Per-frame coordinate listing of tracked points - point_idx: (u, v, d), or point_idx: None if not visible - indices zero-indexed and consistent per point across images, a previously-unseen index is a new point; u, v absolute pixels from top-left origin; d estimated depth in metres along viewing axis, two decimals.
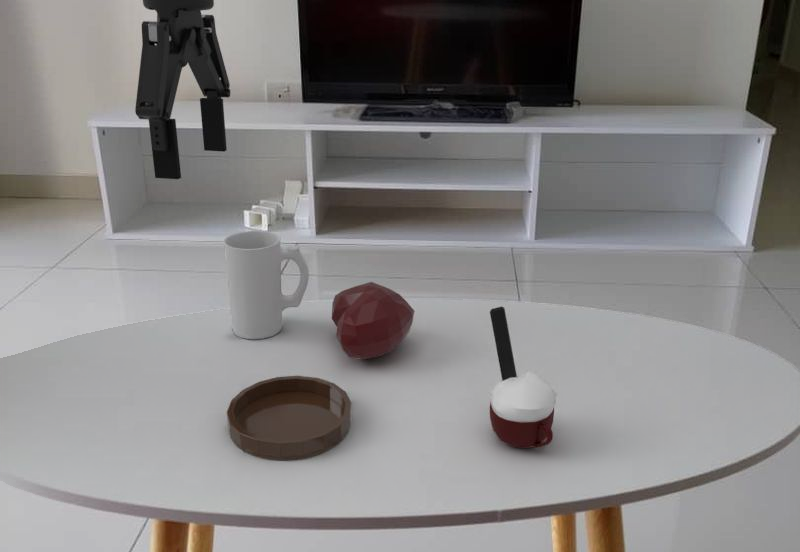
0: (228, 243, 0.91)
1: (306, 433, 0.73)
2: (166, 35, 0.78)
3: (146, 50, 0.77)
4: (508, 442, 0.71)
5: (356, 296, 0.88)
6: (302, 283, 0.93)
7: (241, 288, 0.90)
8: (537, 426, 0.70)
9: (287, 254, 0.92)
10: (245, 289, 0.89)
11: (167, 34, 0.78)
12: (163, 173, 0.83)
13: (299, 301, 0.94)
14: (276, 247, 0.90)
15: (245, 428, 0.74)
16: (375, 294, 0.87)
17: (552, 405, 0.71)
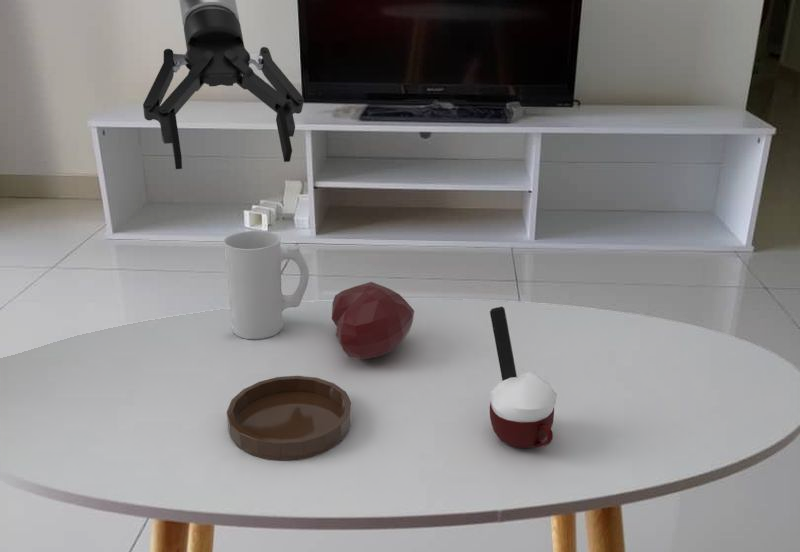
0: (228, 243, 0.91)
1: (306, 433, 0.73)
2: (168, 57, 0.96)
3: None
4: (508, 442, 0.71)
5: (356, 296, 0.88)
6: (302, 283, 0.93)
7: (241, 288, 0.90)
8: (537, 426, 0.70)
9: (287, 254, 0.92)
10: (245, 289, 0.89)
11: (170, 56, 0.96)
12: None
13: (299, 301, 0.94)
14: (276, 247, 0.90)
15: (245, 428, 0.74)
16: (375, 294, 0.87)
17: (552, 405, 0.71)
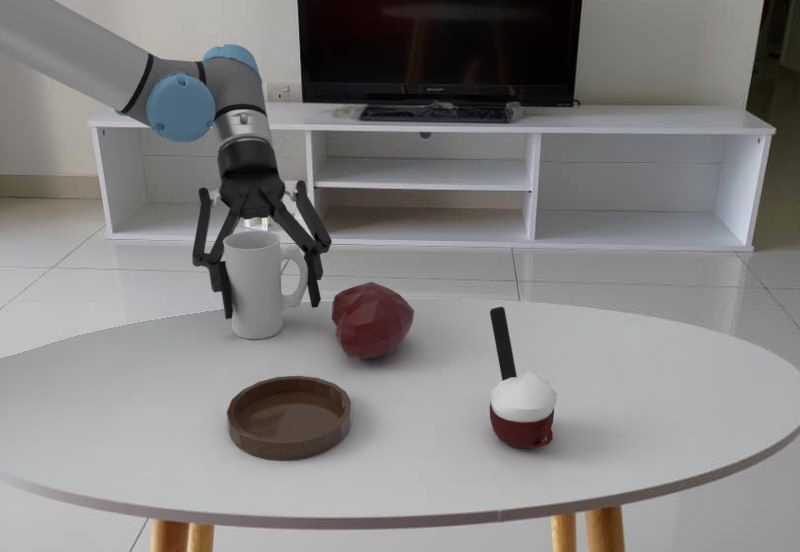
0: (228, 243, 0.91)
1: (306, 433, 0.73)
2: (204, 196, 0.94)
3: None
4: (508, 442, 0.71)
5: (356, 296, 0.88)
6: (301, 283, 0.93)
7: (241, 288, 0.90)
8: (537, 426, 0.70)
9: (287, 254, 0.92)
10: (244, 289, 0.89)
11: (206, 195, 0.94)
12: (225, 311, 0.90)
13: (299, 301, 0.94)
14: (276, 247, 0.90)
15: (245, 428, 0.74)
16: (375, 294, 0.87)
17: (552, 405, 0.71)
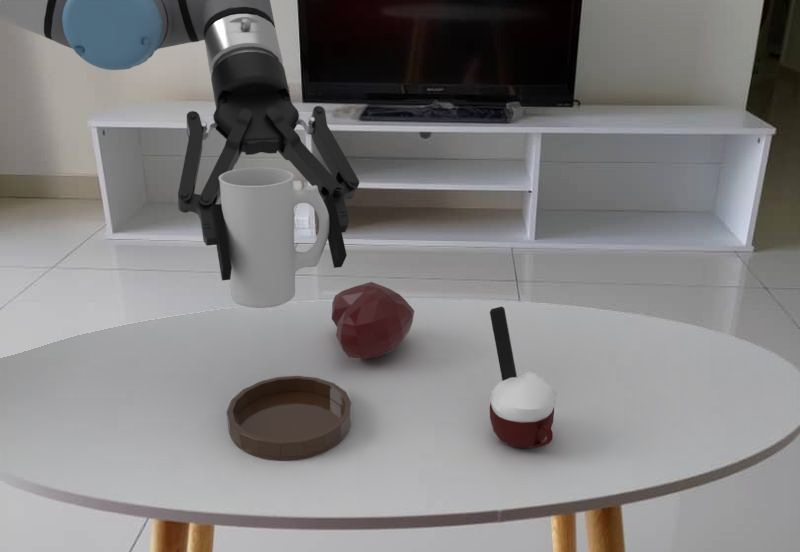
0: (225, 181, 0.70)
1: (306, 433, 0.73)
2: (194, 122, 0.72)
3: None
4: (508, 442, 0.71)
5: (356, 296, 0.88)
6: (321, 235, 0.72)
7: (242, 239, 0.68)
8: (537, 426, 0.70)
9: (302, 196, 0.70)
10: (247, 240, 0.68)
11: (197, 121, 0.72)
12: (221, 270, 0.68)
13: (317, 259, 0.73)
14: (288, 185, 0.68)
15: (245, 428, 0.74)
16: (375, 294, 0.87)
17: (552, 405, 0.71)
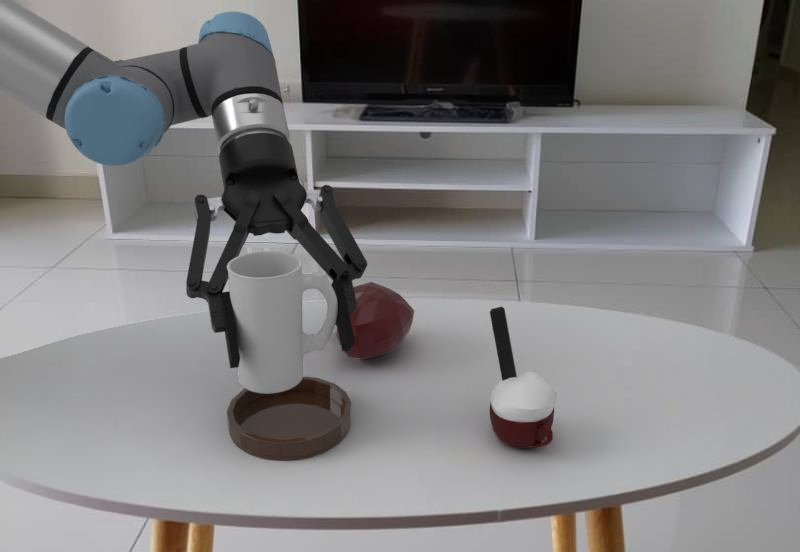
0: (233, 268, 0.69)
1: (306, 433, 0.73)
2: (202, 206, 0.72)
3: None
4: (508, 442, 0.71)
5: (356, 296, 0.88)
6: (329, 319, 0.72)
7: (250, 328, 0.68)
8: (537, 426, 0.70)
9: (311, 282, 0.70)
10: (255, 329, 0.68)
11: (205, 205, 0.72)
12: (229, 359, 0.68)
13: (325, 342, 0.72)
14: (297, 274, 0.68)
15: (245, 428, 0.74)
16: (375, 294, 0.87)
17: (552, 405, 0.71)
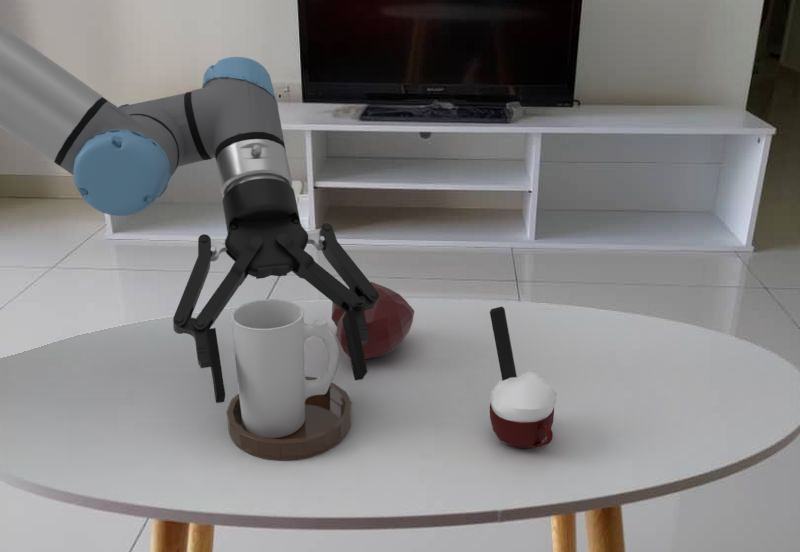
0: (237, 317, 0.71)
1: (306, 433, 0.73)
2: (204, 246, 0.74)
3: None
4: (508, 442, 0.71)
5: None
6: (330, 366, 0.74)
7: (254, 376, 0.70)
8: (537, 426, 0.70)
9: (312, 331, 0.72)
10: (259, 378, 0.70)
11: (207, 245, 0.74)
12: (215, 394, 0.70)
13: (327, 388, 0.74)
14: (299, 324, 0.70)
15: None
16: None
17: (552, 405, 0.71)
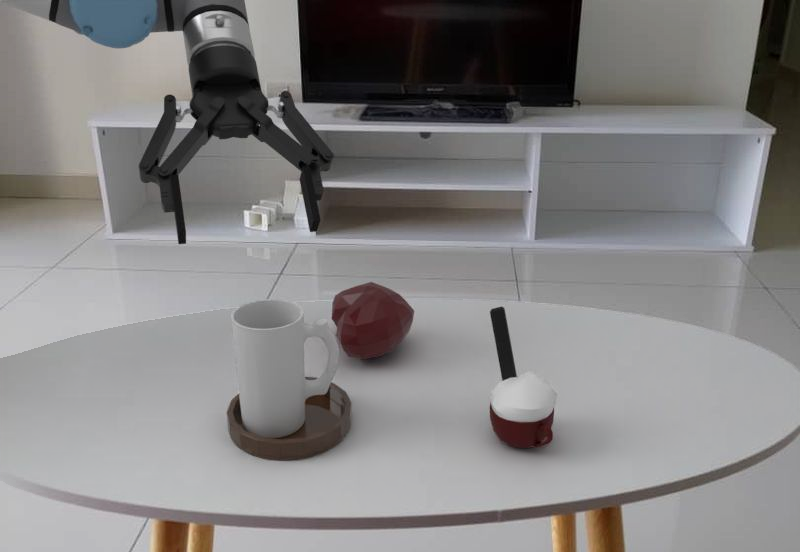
0: (237, 317, 0.71)
1: (306, 433, 0.73)
2: (170, 105, 0.79)
3: None
4: (508, 442, 0.71)
5: (356, 296, 0.88)
6: (330, 366, 0.74)
7: (254, 376, 0.70)
8: (537, 426, 0.70)
9: (312, 331, 0.72)
10: (259, 378, 0.70)
11: (172, 104, 0.79)
12: (177, 234, 0.75)
13: (327, 388, 0.74)
14: (299, 324, 0.70)
15: None
16: (375, 294, 0.87)
17: (552, 405, 0.71)
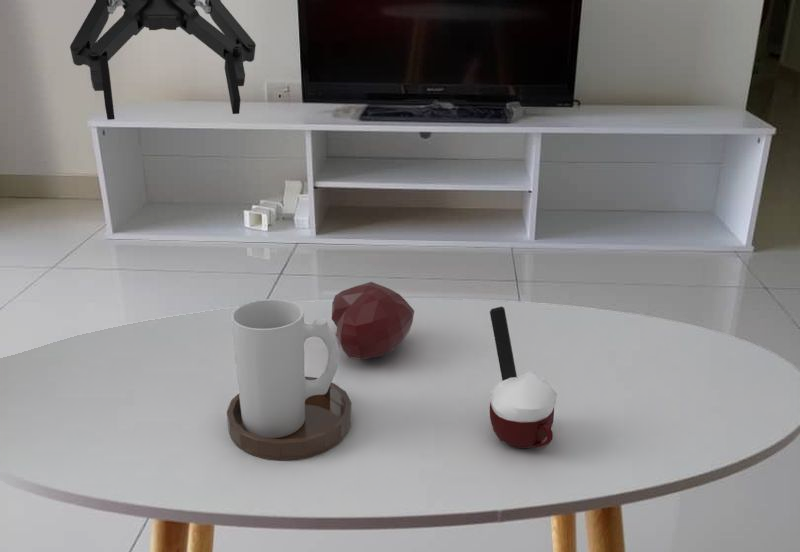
0: (237, 317, 0.71)
1: (306, 433, 0.73)
2: None
3: None
4: (508, 442, 0.71)
5: (356, 296, 0.88)
6: (330, 366, 0.74)
7: (254, 376, 0.70)
8: (537, 426, 0.70)
9: (312, 331, 0.72)
10: (259, 378, 0.70)
11: None
12: None
13: (327, 388, 0.74)
14: (299, 324, 0.70)
15: None
16: (375, 294, 0.87)
17: (552, 405, 0.71)
